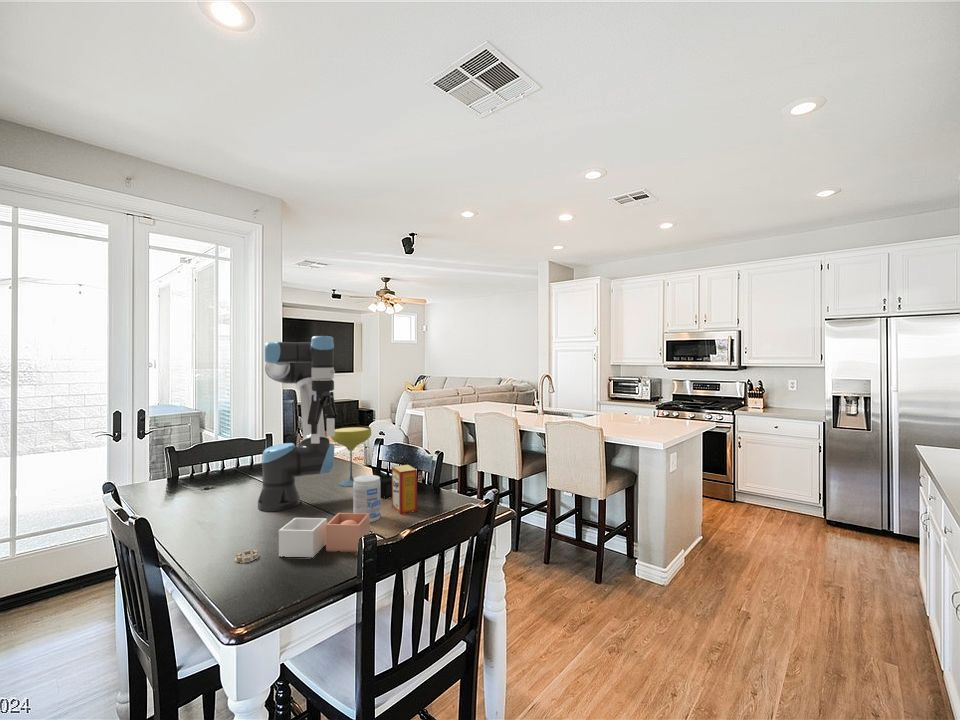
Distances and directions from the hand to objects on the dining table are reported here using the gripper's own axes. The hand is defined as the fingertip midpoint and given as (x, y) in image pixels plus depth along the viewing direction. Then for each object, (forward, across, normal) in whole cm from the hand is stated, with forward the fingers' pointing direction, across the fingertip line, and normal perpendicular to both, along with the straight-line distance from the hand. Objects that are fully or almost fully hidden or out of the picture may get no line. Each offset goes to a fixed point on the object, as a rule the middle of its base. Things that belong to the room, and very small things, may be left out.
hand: (323, 439), depth 163 cm
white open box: (+29, -25, -4) cm, 38 cm away
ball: (+25, -20, -16) cm, 36 cm away
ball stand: (+29, -31, +10) cm, 43 cm away
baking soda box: (+29, +13, -26) cm, 41 cm away
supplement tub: (+29, +2, -15) cm, 33 cm away
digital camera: (+29, +29, -17) cm, 45 cm away
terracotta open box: (+29, -20, -16) cm, 38 cm away
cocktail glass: (+29, +46, +6) cm, 55 cm away
